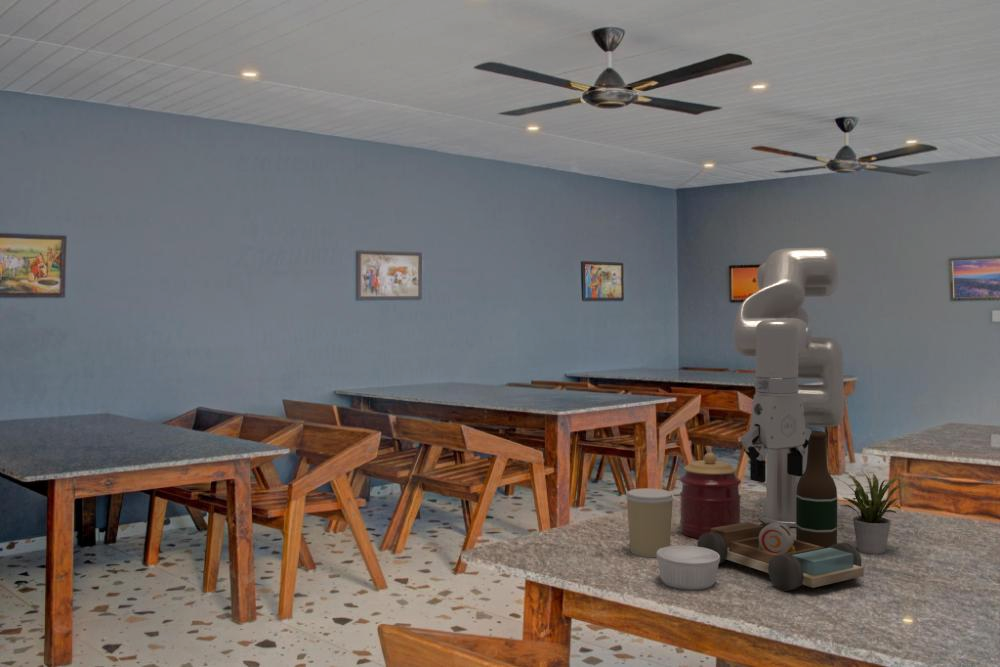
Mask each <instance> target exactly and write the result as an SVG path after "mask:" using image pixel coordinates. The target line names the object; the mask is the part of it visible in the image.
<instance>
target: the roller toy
mask: <svg viewBox="0 0 1000 667" xmlns="http://www.w3.org/2000/svg"><path fill="white" fill-rule="evenodd" d="M794 539H795V536H794V533H793V531H792V529H791V527H788V526H787V525H785V524H784V523H781V522H772V523H770V524H768V525H767V526H765V527H764V528H763V529H762V530H761V532H760V534H759V549H761V550H764V551H768V552H771V553H774V554H778V555H779V554H784V553H789V552H794V551H795V547H794V546H793V543H794Z"/></svg>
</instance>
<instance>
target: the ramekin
mask: <svg viewBox="0 0 1000 667" xmlns="http://www.w3.org/2000/svg"><path fill="white" fill-rule="evenodd" d="M655 558H656V559H657V564H658V571H659V576H660V577H659V578H660V580H661V581H662V582H663V583H664V584H665V585H666V586H669V587H671V588H673V589H678V590H679V589H680V590H689V591H690V590H692V591H697V590H704V589H705V590H706V589H709V588H711V587H712V586H713V585H714V584H715V583H716V581H717V575H718V570H719V565H720V564H719V562H720V555H719V554H718V553H717V552H715V551H713V550H711V549H707V548H703V547H697V545H670V546H669V547H664V548H660V549H659V550H658V551H657V553H656V557H655Z"/></svg>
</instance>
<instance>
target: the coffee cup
mask: <svg viewBox="0 0 1000 667" xmlns="http://www.w3.org/2000/svg"><path fill="white" fill-rule="evenodd" d="M625 497H626V498H625V499H626V503H627V504H626V506H627V507H626V508H627V525H628V534H629V535H628V537H629V539H628V540H629V548H630V549H629V550H630V553H631V554H632V555H635V556H638V557H643V558H644V557H645V558H657V557H656V553H657V551H658V550H659V549H660V548H664V547H669V546H671V533H672V518H673V517H672V516H673V501H674V495H673V493H672V492H671V491H669V490H666V489H660V488H647V487H646V488H635V489H630V490H628V491H627V494H626V495H625Z"/></svg>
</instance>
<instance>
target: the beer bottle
mask: <svg viewBox="0 0 1000 667" xmlns="http://www.w3.org/2000/svg"><path fill="white" fill-rule="evenodd" d="M827 438H828V437H827V432H825V431H823V430H811V435H810V438H809V440H808V453H807V465H806V470H805V472H804V473H803V475H802V476H801V478H800V479H799V482H798V485H797V493H796V527H795V529H796V530H795V531H796V532H795V534H796V535H795V538H796V540H799V541H803V542H806V543H810V544H814V545H817V546H821V547H825V548H830V546H832V545H834V544H838V491H837V486H836V483H835V479H833V477H832V475H831V474H830V472H829V471H828V470H829V469H828V464H827V463H828V462H827V448H826V447H827V446H826V439H827Z"/></svg>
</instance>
